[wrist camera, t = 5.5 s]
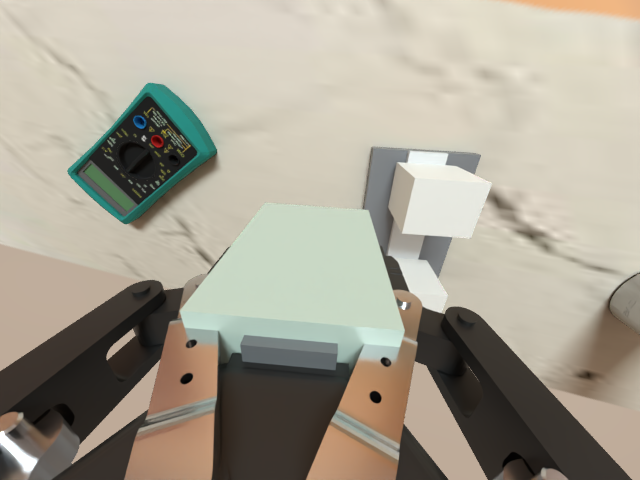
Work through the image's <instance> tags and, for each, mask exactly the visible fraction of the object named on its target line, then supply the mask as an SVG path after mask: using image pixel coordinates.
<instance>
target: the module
mask: <svg viewBox="0 0 640 480" xmlns="http://www.w3.org/2000/svg"><path fill="white" fill-rule="evenodd" d="M180 314H181V317H182V320H183V324H184V327H185V328H194V329H205V330H216V331H218V332H219V337H220V342H221V364H224V363H228V362H229V359H230V357H231V355H232V353H238V354H242V361H244V362H254V363H265V364H275V365H286V366H296V367H307V368H317V369H328V370H336V363H344V364H349V374H351V375H352V373H353V370H354V368H355V365H356V363H357V361H358V358H359V356H360V353H361V351H362V348H363V346H364V344H370V345H381V346H392V347H400V345H401V342H402V339H403V335H404V332H405V329H404V326H403V323H402V319H401V316H400V313H399V310H398V306H397V303H396V300H395V296H394V293H393V290H392V286H391V283H390V280H389V276H388V273H387V270H386V266H385V263H384V260H383V256H382V253H381V250H380V246H379V243H378V240H377V237H376V233H375V230H374V227H373V223H372V220H371V217H370V213H369V210H361V209H347V208H333V207H320V206H306V205H292V204H278V203H265V204H264V205H263V206H262V207H261V209H260V210H259V211H258V212H257V214H256V215H255V216H254V217H253V219H252V220H251V221H250V222H249V224H248V225H247V226H246V228H245V229H244V230H243V231H242V233H241V234H240V235H239V236H238V238H237V239H236V240H235V241H234V243H233V244H232V245H231V247H230V248H229V249H228V250H227V252H226V253H225V254H224V255H223V257H222V258H221V259H220V260H219V262H218V263H217V264H216V265H215V267H214V268H213V269H212V271H211V272H210V273H209V274H208V276H207V277H206V278H205V279H204V281H203V282H202V283H201V284H200V286H199V287H198V288H197V290H196V291H195V292H194V293H193V295H192V296H191V297H190V298H189V300H188V301H187V302H186V303H185V305H184V306H183V307H182V308H181V310H180Z"/></svg>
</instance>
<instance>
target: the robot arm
mask: <svg viewBox="0 0 640 480" xmlns="http://www.w3.org/2000/svg"><path fill="white" fill-rule="evenodd" d="M230 247H231V246H230ZM230 247H229V248H230ZM229 248H227V249H226V251H225V252H224V253H223V255H224V254H225V253H226V252H227V250H228V249H229ZM380 250H381V253H382V256H383V260H384V263H385V266H386V270H387V273H388V276H389V280H390V283H391V286H392V290H393V293H394V296H395V300H396V303H397V306H398V310H399V313H400V316H401V319H402V323H403V326H404V329H405V332H404V335H403V339H402V342H401V345H400V347H392V346H381V345H370V344H364V346H363V348H362V351H361V353H360V356H359V358H358V361H357V363H356V365H355V368H354V370H353V373H352V375H351V374H349V364H344V363H336V370H328V369H317V368H307V367H296V366H286V365H275V364H265V363H254V362H244V361H242V354H238V353H232V355H231V357H230V359H229V362H228V363H224V364H221V342H220V337H219V332H218V331H216V330H205V329H194V328H185V327H184V324H183V320H182V317H181V314H180V310H181V308H182V307H183V306H184V305H185V303H186V302H187V301H188V300H189V298H190V297H191V296H192V295H193V293H194V292H195V291H196V290H197V288H198V287H199V286H200V284H201V283H202V282H203V281H204V279H205V278H206V277H207V276H208V274H209V273H210V272H211V271H212V269H213V268H214V267H215V265H216V264H217V263H218V262H219V260H220V259H221V258H222V257H223V255H222V256H221V257H220V258H219V260H218V261H217V262H216V263H215V264H214V266H213V267H212V268H211V269H210V271H209V272H208V273H207V274H203V275H199V276H196V277H194V278H192V279H190V280H189V281H188V282H187V283H186V284H185V286H184V288H178V289H171V290H164V289H163V286H162V284H161V282H159V281H155V280H147V281H142V282H138V283H135V284H133V285H131V286H129V287H127V288H126V289H124V290H123V291H121V292H120V293H118V294H117V295H115V296H114V297H112V298H111V299H109V300H108V301H106V302H105V303H103V304H102V305H100V306H98V307H97V308H95V309H94V310H92V311H91V312H90V313H88V314H86V315H85V316H83V317H82V318H80V319H79V320H77V321H76V322H74V323H73V324H71V325H70V326H68V327H67V328H65V329H64V330H62V331H61V332H59V333H58V334H56V335H55V336H53V337H51V338H50V339H48V340H47V341H45V342H44V343H42V344H41V345H39V346H38V347H36V348H35V349H33V350H32V351H30V352H29V353H27V354H26V355H24V356H23V357H21V358H20V359H18V360H17V361H15V362H14V363H12V364H11V365H9V366H8V367H6V368H5V369H3V370H2V371H0V480H448V478H447V477H446V476H445V475H444V474H443V472H442V471H441V470H440V468H439V467H438V466H437V465H436V463H435V462H434V461H433V460H432V459H431V457H430V456H429V455H428V454H427V452H426V451H425V450H424V449H423V447H422V446H421V445H420V444H419V443H418V441H417V440H416V439H415V437H414V436H413V435H412V434H411V432H410V431H409V430H408V429H407V427H406V426H405V425H404V424H403V423H404V418H405V412H406V406H407V401H408V395H409V390H410V384H411V378H412V373H413V367H414V362H415V361H416V362H418V363H421V364H424V365H426V366H427V368H428V370H429V372H430V374H431V375H432V377H433V379H434V381H435V383H436V385H437V387H438V388H439V390H440V392H441V394H442V396H443V398H444V399H445V401H446V403H447V405H448V407H449V408H450V410H451V412H452V414H453V416H454V418H455V420H456V422H457V423H458V425H459V427H460V429H461V431H462V433H463V434H464V436H465V438H466V440H467V442H468V444H469V446H470V447H471V449H472V451H473V453H474V455H475V456H476V459H477V460H478V462H479V464H480V466H481V468H482V470H483V471H484V473H485V475H486V477H487V479H488V480H632V479H631V478H630V477H629V476H628V475H627V474H626V473H625V472H624V470H623V469H622V468H621V467H620V466H619V465H618V464H617V463H616V462H615V461H614V460H613V459H612V458H611V456H610V455H609V454H608V453H607V452H606V451H605V450H604V449H603V448H602V447H601V446H600V445H599V444H598V442H597V441H596V440H595V439H594V438H593V437H592V436H591V435H590V434H589V433H588V432H587V431H586V430H585V429H584V427H583V426H582V425H581V424H580V423H579V422H578V421H577V420H576V419H575V418H574V417H573V416H572V414H571V413H570V412H569V411H568V410H567V409H566V408H565V407H564V406H563V405H562V404H561V403H560V402H559V401H558V400H557V398H556V397H555V396H554V395H553V394H552V393H551V392H550V391H549V390H548V389H547V387H546V386H545V385H544V384H543V383H542V382H541V381H540V380H539V379H538V378H537V377H536V376H535V375H534V373H533V372H532V371H531V370H530V369H529V368H528V367H527V366H526V365H525V364H524V363H523V362H522V361H521V359H520V358H519V357H518V356H517V355H516V354H515V353H514V352H513V351H512V350H511V349H510V348H509V347H508V345H507V344H506V343H505V342H504V341H503V340H502V339H501V338H500V337H499V336H498V335H497V334H496V333H495V331H494V330H493V329H492V328H491V327H490V326H489V325H488V324H487V323H486V322H485V321H484V320H483V319H482V318H481V317H480V316H479V315H478V314H476V313H475V312H473V311H471V310H469V309H466V308H462V307H450V308H448V309H447V310H446V312H445V314H442V313H439V312H436V311H433V310H430V309H427V308H425V307H423V306H422V302H421V301H420V299H419V298H418V297H417V296H415V295H414V294H412V293H410V291H409V289H408V286H407V284H406V281H405V279H404V276H403V273H402V271H401V270H400V269H401V268H400V266H399V263H398V261H397V260H395V259H394V258H393V257H392V256H386V255H385V253H384V250H383V247H382V246H380ZM610 310H611V313H612V314H613V315H614V316H615V317H616V318H618V319H619V320H620V321H622V322H623V323H624V324H626V325H627V326H628V327H630V328H631V329H632V330H634V331H635V332H636V333H638V334H639V335H640V274H638V275H636V276H634V277H633V278H631V279H629V280H628V281H627V282H626V283H624V284H623V285H622V286H621V287H620V288H619V289H618V290H617V291H616V292H615V294H614V295H613V297H612V299H611V302H610ZM131 329H133V330H134V332H135V335H136V336H135V337H134V338H132V339H131V340H130V341H129V342H128V343H127V344H126V345H125V346H123V347H122V348H121V349H120V350H119V351H118V352H116V353H115V354H114V355H113V356H112V357H111V358H110V359H108V360H106V355H107V352H108V350H109V349H110V347H111V346H112V345H113V344H114V343H116V342H117V341H118V340H119V339H120V338H122V337H123V336H124V335H125V334H126V333H128V332H129V331H130V330H131ZM160 359H161V360H160ZM159 360H160V364H159V368H158V372H157V376H156V381H155V385H154V389H153V393H152V397H151V401H150V405H149V409H148V410H147V411H145V412H144V413H143V414H141V415H140V416H138V417H137V418H136V419H134V420H133V421H132V422H130V423H129V424H127V425H126V426H125V427H123V428H122V429H121V430H119V431H118V432H116V433H115V434H114V435H112V436H111V437H109V438H108V439H107V440H105V441H104V442H103V443H101V444H100V445H99V446H97V447H96V448H94V449H93V450H91V451H90V452H89V453H87V454H86V455H85V456H84V457H82V458H80V459H79V460H78V461H76V462H75V463H74V464H72V463H71V462H72V461H73V459H74V457H75V456H76V454H77V452H78V449H79V445H80V444H81V443H82V441H84V440H85V439H86V437H87V436H88V435H89V434H90V433H91V432H92V431H93V430H94V429H95V428H96V427H97V426H98V425H99V424H100V422H101V421H102V420H103V419H104V418H105V417H106V416H107V415H108V414H109V413H110V412H111V411H112V410H113V409H114V408H115V407H116V406H117V405H118V403H119V402H120V401H121V400H122V399H123V398H124V397H125V396H126V395H127V394H128V393H129V392H130V391H131V390H132V389H133V388H134V386H135V385H136V384H137V383H138V382H139V381H140V380H141V379H142V378H143V377H144V376H145V375H146V374H147V373H148V372H149V371H150V369H151V368H152V367H153V366H154V365H155V364H156V363H157V362H158V361H159ZM469 367H470V368H469ZM470 369H471V370H472V371H471V370H470ZM473 373H474V374H475V375H474V374H473ZM475 376H476V377H477V378H476V377H475ZM477 379H478V380H479V381H478V380H477Z"/></svg>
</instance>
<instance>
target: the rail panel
mask: <svg viewBox="0 0 640 480" xmlns="http://www.w3.org/2000/svg"><path fill="white" fill-rule="evenodd" d="M480 157H481V155H479V154H476V153H465V152H449V151H433V150H417V149H401V148H385V147H372V150H371V157H370V164H369V171H368V178H367V185H366V192H365V199H364V206H363V210H369V213H370V217H371V220H372V223H373V227H374V230H375V233H376V237H377V240H378V243H379V246H382V247H383V250H384V253H385V255H386V256H392V257H393V258H394V259H395V260H397V261H398V263H399V266H400V268H401V269H400V270H401V271H402V273H403V276H404V279H405V281H406V284H407V286H408V289H409V291H410V293H412V294H414V295H415V296H417V297H418V298H419V299H420V301H421V302H422V306H423V307H425V308H427V309H430V310H433V311H436V312H439V313H442V310H443V308H444V305H445V303H446V300H447V297H448V295H447V293H446V291H445V290H444V288H443V286H442V285H441V283H440V281H439V280H438V277H439V274H440V271H441V268H442V265H443V262H444V260H445V257H446V254H447V251H448V248H449V245H450V242H451V240H452V237H458V238H471V236H472V234H473V231H474V228H475V226H476V223H477V221H478V218H479V216H480V213H481V211H482V208H483V205H484V203H485V200H486V198H487V195H488V193H489V190H490V188H491V185H492V183H491V182H489V181H486V180H484V179H482V178H480V177H478V176H476V175H474V174H475V171H476V168H477V165H478V162H479V160H480Z"/></svg>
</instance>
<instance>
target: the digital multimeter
mask: <svg viewBox="0 0 640 480" xmlns="http://www.w3.org/2000/svg"><path fill="white" fill-rule="evenodd" d="M129 140H130V141H129ZM116 153H117V154H116ZM216 153H217V149H216V147H215V145H214V143H213V142H212V140H211V138H210V136H209V134H208V132H207V131H206V129H205V128H204V126H203V124H202V123H201V121H200V120H199V119H198V117H197V116H196V115H195V114H194V112H193V111H192V110H191V109H190V108H189V107H188V106H187V105H186V104H185V103H184V102H183V101H182V100H181V99H180V98H179V97H178V96H176V95H175V94H174V93H173V92H172V91H171V90H169V89H168V88H167V87H166V86H165V85H162V84H155V83H148V84H146V85H145V87H144V88H143V89H142V91H141V92H140V93H139V94H138V96H137V97H136V98H135V99H134V101H133V102H132V103H131V104H130V106H129V107H128V108H127V109H126V110H125V112H124V113H123V114H122V115H121V116H120V117H119V119H118V120H117V121H116V122H115V123H114V125H113V126H112V127H111V128H110V129H109V130H108V131H107V132H106V133H105V134H104V135H103V136H102V137H101V138H100V139H99V140H98V141H97V142H96V143H95V144H94V146H93V147H92V148H91V149H89V150H88V151H87V152H86V153H85V154H84V155H83V156H82V157H81V158H80V159H79V160H77V161H76V162H75V163H74V164H73V165H72V166H71V167H70V168H69V169H68V171H67V172H68V174H69V175H70V177H71V178H72V179H73V180H74V181H75V182H76V183H77V184H78V185H79V186H80V187H81V188H82V189H83V190H84V191H85V192H86V193H87V194H88V195H89V196H90V197H91V198H93V199H94V200H95V201H96V202H97V203H98V204H99V205H100V206H102V207H103V208H104V209H105V210H107V211H108V212H109V213H110V214H112V215H113V216H114V217H115V218H117V219H118V220H119V221H121V222H122V223H124V224H129V223H130V222H132V221H134V220H136V219H138V218H139V217H140V216H141V215H142V214H143V213H144V212H145V211H146V210H148V209H149V208H150V207H151V206H152V205H153V204H154V203H155V202H156V201H157V200H158V199H159V198H160V197H162V196H163V195H164V194H165V193H166V192H167V191H168V190H170V189H171V188H172V187H173V186H174V185H175V184H177V183H178V182H179V181H181V180H182V179H183V178H184V177H186V176H187V175H188V174H190V173H191V172H192V171H193V170H195V169H196V168H197V167H199V166H200V165H201V164H203V163H204V162H206V161H207V160H208V159H210V158H211V157H212V156H214V155H215V154H216ZM189 161H190V162H189ZM182 167H183V168H182ZM125 172H126V173H125ZM175 173H176V174H175ZM136 179H137V180H136ZM148 196H149V197H148ZM141 202H142V203H141Z"/></svg>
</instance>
